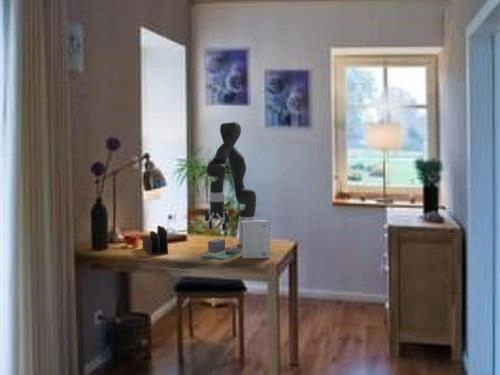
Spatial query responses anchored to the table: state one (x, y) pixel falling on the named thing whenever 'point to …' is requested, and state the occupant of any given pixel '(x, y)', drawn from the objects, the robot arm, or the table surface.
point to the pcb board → (224, 253)
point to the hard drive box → (255, 238)
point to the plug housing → (216, 246)
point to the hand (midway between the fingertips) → (217, 229)
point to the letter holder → (156, 242)
